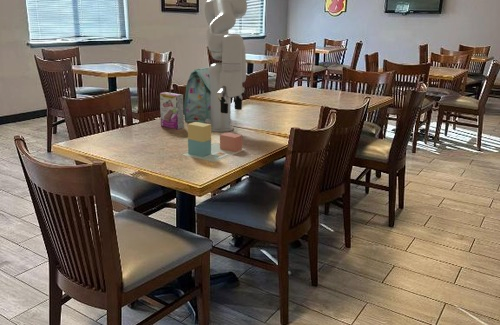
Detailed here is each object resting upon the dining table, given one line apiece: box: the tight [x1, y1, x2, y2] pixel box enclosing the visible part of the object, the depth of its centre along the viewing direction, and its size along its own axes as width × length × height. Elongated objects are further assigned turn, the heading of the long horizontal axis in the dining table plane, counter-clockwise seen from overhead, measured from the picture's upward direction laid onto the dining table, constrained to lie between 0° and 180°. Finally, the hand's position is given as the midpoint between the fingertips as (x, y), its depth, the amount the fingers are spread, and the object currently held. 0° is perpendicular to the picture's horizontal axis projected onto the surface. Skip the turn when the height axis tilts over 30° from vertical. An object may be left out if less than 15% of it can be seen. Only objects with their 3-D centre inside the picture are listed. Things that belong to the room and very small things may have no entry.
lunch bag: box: [183, 66, 211, 124], centre depth 240 cm, size 23×16×27 cm
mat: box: [181, 142, 247, 163], centre depth 185 cm, size 16×22×1 cm
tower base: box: [187, 121, 212, 157], centre depth 180 cm, size 8×5×12 cm, turn 58°
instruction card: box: [208, 152, 229, 158], centre depth 181 cm, size 6×6×1 cm
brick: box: [219, 132, 243, 152], centre depth 188 cm, size 8×5×6 cm, turn 58°
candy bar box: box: [159, 91, 185, 130], centre depth 222 cm, size 11×5×16 cm, turn 58°
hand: (231, 111), depth 184 cm, fingers open, 9 cm apart
